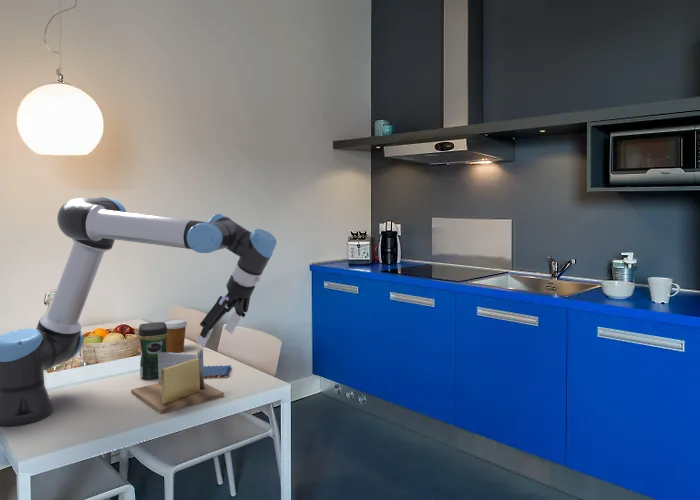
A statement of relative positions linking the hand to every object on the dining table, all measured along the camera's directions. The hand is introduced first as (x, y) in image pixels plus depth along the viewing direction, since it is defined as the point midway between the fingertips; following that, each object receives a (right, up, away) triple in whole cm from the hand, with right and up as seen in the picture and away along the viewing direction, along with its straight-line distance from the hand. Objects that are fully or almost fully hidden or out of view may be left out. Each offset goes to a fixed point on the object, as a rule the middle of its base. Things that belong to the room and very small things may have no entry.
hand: (214, 337), depth 165 cm
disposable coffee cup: (-29, -14, +56) cm, 65 cm away
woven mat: (-7, -18, +28) cm, 34 cm away
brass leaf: (-10, -18, +2) cm, 21 cm away
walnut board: (-13, -19, +7) cm, 24 cm away
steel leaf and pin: (-13, -18, +12) cm, 26 cm away
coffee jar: (-27, -17, +25) cm, 41 cm away
